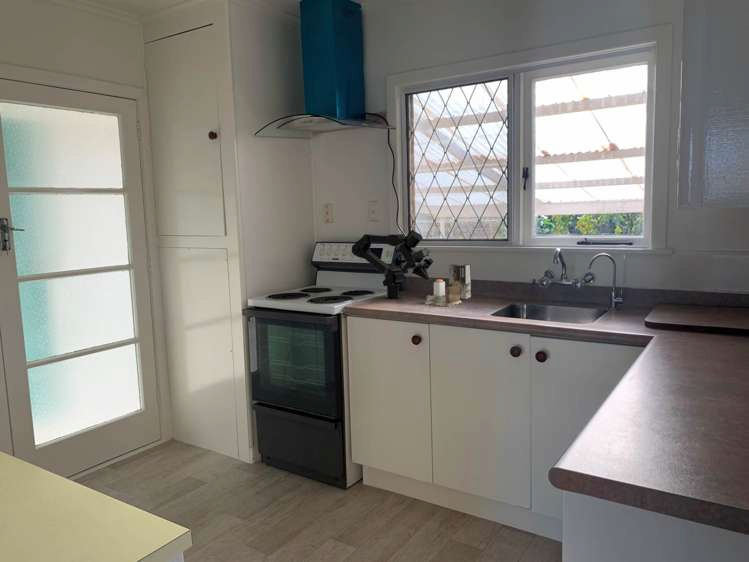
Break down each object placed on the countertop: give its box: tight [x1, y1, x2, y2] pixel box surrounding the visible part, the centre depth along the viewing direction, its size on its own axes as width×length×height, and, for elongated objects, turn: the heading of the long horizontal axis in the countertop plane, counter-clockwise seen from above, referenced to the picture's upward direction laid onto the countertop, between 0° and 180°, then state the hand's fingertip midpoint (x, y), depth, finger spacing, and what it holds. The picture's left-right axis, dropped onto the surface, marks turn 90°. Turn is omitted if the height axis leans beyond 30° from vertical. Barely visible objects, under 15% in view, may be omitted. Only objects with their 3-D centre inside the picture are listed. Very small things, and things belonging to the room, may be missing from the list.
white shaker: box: [431, 278, 446, 297], centre depth 270 cm, size 4×5×9 cm
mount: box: [424, 286, 462, 307], centre depth 268 cm, size 12×11×8 cm
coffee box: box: [448, 263, 472, 300], centre depth 283 cm, size 9×6×16 cm
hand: (428, 279), depth 273 cm, fingers closed
